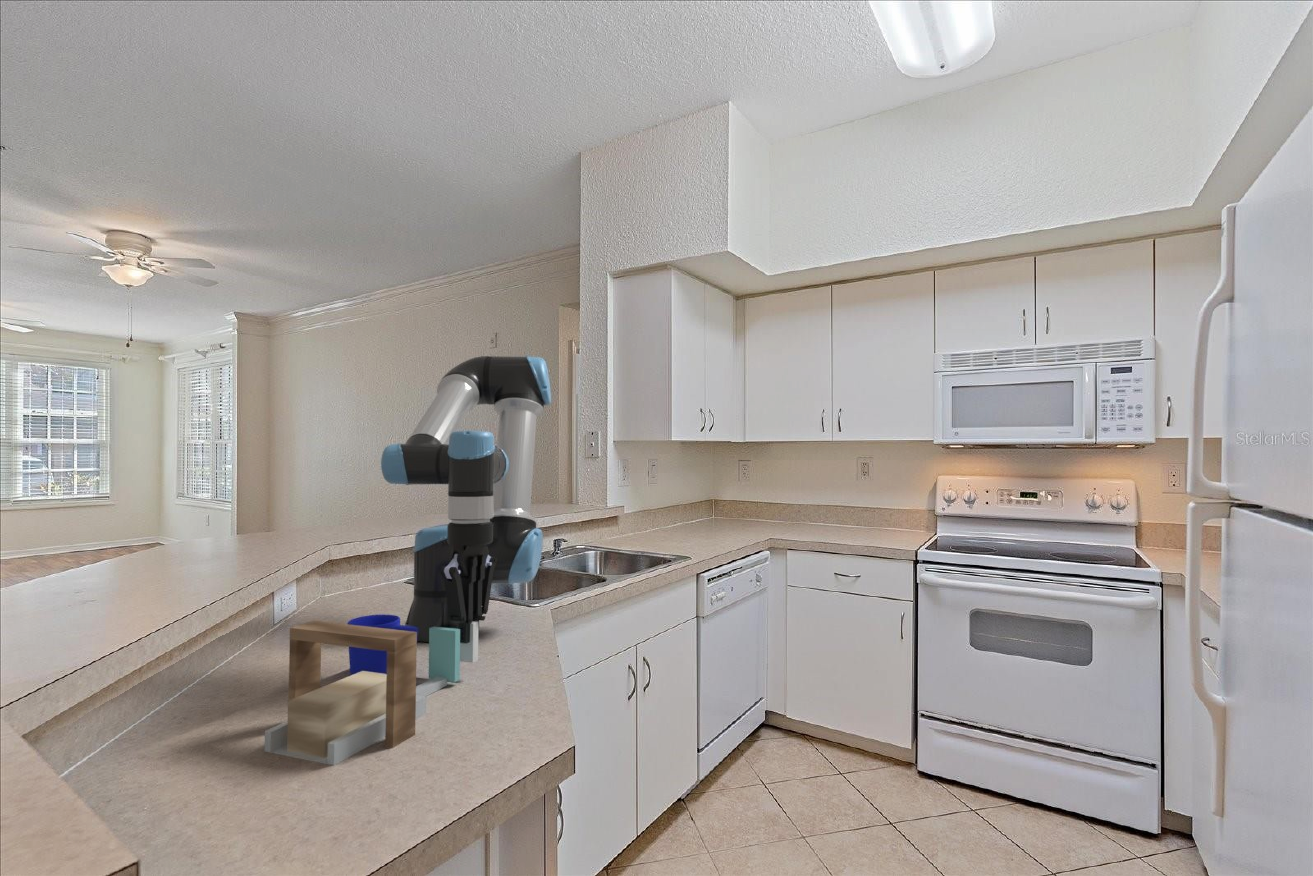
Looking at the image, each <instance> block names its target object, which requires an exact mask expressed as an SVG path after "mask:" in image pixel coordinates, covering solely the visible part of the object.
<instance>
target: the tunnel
mask: <svg viewBox="0 0 1313 876" xmlns="http://www.w3.org/2000/svg"><path fill="white" fill-rule="evenodd" d="M322 644H324V645H325V644H327V645H334V646H335V645H336V646H341V647H342V646H343V647H348V648H349V647H357V648H365V649H373V650H381V651H387V678H386V735H385V737H384V738H385V744H384V745H385V747H386V748H390V749H391V748H392V749H393V748H395V747H398V746H399V745H400V744H402V743H404V742H406V741H407V740H409V739H411V738H412V737H414V736H416V720H415V718H416V686H417V647H418V646H417V645H418V641H417V632H412V631H404V630H394V629H385V628H376V627H367V626H358V625H349V624H347V623H341V622H340V623H339V622H338V623H337V622H330V621H329V622H328V621H320V620H313V621H309V622H307V623H303V624H299V625H295V626H292V627H290V628H289V657H288V658H289V663H288V667H289V668H288V697H287V698H288V700H287V702H288V701H289V700H292V699H294V698H297V697H299V696H301V695H304V694H306V693H309V692H311V691H314V690H316V689H319V688H321V675H322V674H321V673H322V672H321V668H322V667H321V666H322V665H321V664H322Z"/></svg>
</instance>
